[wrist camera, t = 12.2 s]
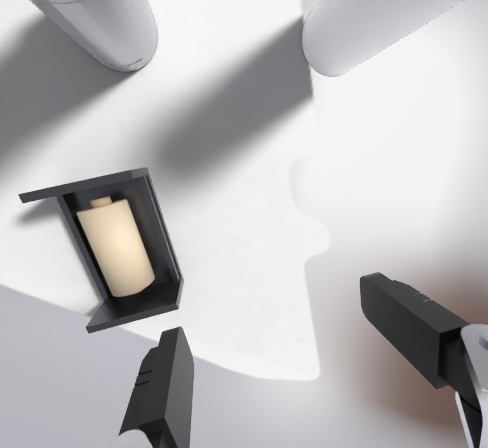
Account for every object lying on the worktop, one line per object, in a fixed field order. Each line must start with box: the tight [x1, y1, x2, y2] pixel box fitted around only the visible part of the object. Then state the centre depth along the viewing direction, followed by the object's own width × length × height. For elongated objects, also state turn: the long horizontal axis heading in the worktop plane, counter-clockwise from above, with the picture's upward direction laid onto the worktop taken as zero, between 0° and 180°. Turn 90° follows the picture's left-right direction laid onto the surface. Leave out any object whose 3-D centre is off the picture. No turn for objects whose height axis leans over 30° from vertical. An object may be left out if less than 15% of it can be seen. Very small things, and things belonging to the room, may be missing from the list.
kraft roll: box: [77, 196, 155, 297], centre depth 33 cm, size 14×6×6 cm, turn 12°
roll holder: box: [18, 167, 184, 333], centre depth 32 cm, size 19×12×8 cm, turn 12°
